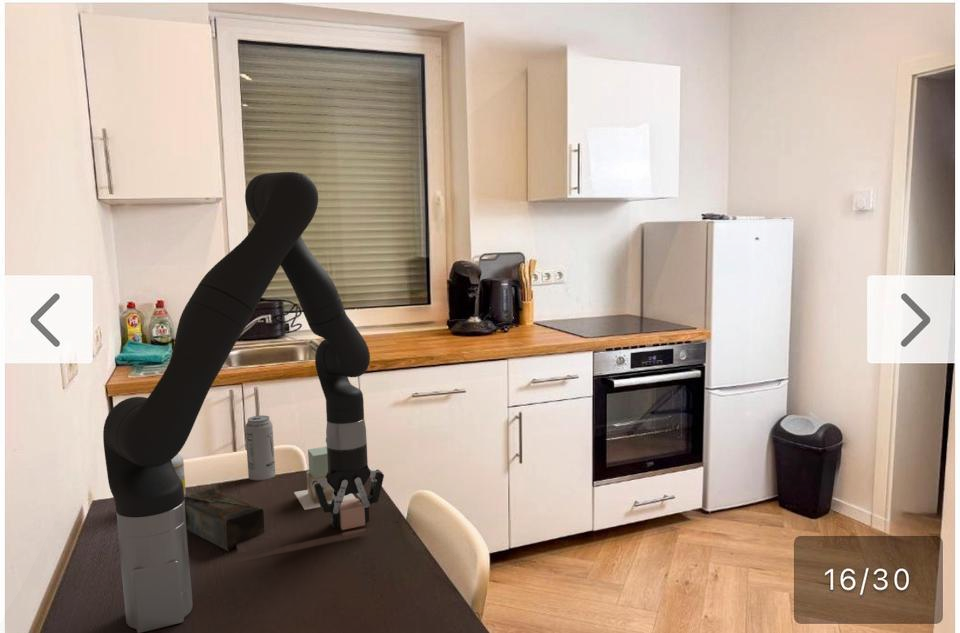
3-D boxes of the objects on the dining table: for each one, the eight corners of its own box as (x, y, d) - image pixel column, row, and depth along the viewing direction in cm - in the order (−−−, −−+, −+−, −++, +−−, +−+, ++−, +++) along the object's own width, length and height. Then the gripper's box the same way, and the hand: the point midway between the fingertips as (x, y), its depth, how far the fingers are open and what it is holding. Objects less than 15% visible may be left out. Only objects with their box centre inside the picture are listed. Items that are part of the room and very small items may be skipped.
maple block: (342, 497, 146) (341, 475, 145) (314, 503, 143) (312, 480, 143) (335, 488, 151) (334, 466, 150) (307, 493, 148) (306, 471, 148)
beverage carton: (216, 514, 142) (213, 483, 141) (267, 539, 130) (265, 506, 129) (178, 527, 136) (176, 495, 135) (228, 555, 124) (226, 520, 123)
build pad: (357, 504, 145) (357, 499, 145) (304, 515, 140) (304, 509, 140) (343, 488, 155) (343, 483, 154) (294, 497, 150) (293, 492, 150)
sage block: (338, 474, 145) (336, 452, 145) (314, 479, 143) (313, 455, 143) (332, 468, 150) (330, 445, 149) (309, 471, 148) (307, 449, 147)
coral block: (365, 531, 132) (364, 506, 131) (342, 536, 130) (341, 510, 129) (358, 522, 136) (357, 498, 135) (336, 527, 134) (335, 502, 133)
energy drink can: (274, 483, 158) (270, 420, 157) (247, 486, 157) (243, 422, 155) (276, 475, 164) (272, 414, 162) (250, 477, 163) (246, 415, 161)
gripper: (313, 453, 124) (318, 543, 126) (388, 441, 131) (392, 527, 133) (304, 442, 131) (309, 528, 133) (376, 431, 137) (380, 513, 139)
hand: (350, 527), depth 133 cm, fingers closed on coral block, 4 cm apart
